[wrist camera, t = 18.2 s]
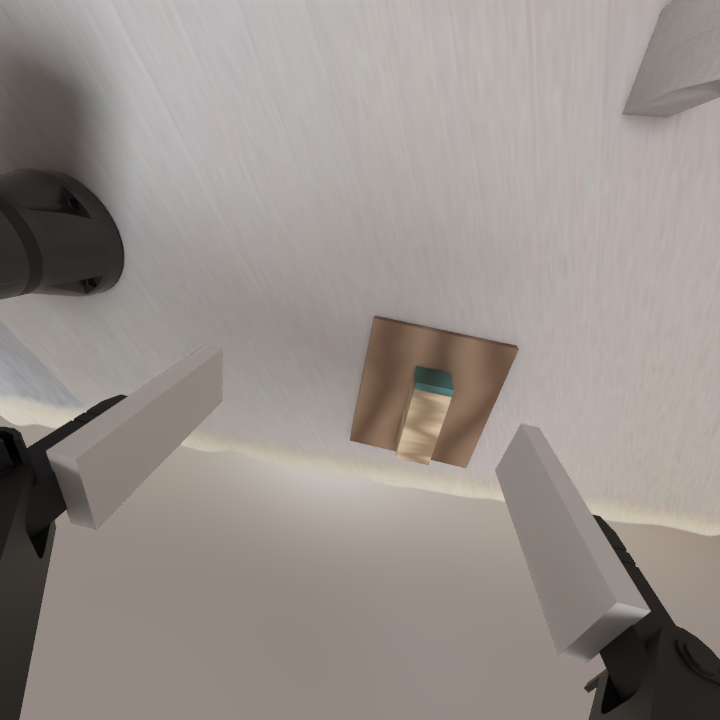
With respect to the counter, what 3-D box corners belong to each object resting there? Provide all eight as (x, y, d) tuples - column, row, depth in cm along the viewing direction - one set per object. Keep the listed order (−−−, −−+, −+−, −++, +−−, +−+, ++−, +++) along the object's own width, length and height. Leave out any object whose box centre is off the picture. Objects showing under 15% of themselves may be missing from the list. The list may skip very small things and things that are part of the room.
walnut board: (351, 436, 48) (349, 440, 48) (375, 315, 40) (374, 318, 39) (465, 463, 47) (466, 468, 46) (516, 346, 38) (518, 349, 38)
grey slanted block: (622, 114, 28) (720, 67, 19) (661, 10, 25) (799, -102, 16) (665, 117, 28) (786, 71, 19) (710, 12, 25) (879, -101, 16)
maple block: (427, 442, 46) (450, 372, 40) (428, 465, 42) (454, 390, 36) (397, 436, 46) (415, 365, 41) (395, 457, 42) (416, 382, 37)
